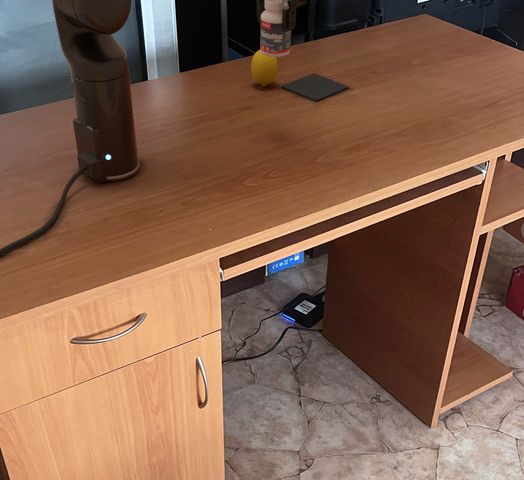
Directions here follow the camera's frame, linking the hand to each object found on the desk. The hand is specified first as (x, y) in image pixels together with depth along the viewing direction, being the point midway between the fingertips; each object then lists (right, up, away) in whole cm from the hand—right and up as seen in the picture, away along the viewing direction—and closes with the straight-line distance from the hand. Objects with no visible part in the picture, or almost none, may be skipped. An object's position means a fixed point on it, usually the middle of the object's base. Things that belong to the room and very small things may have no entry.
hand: (275, 25), depth 135 cm
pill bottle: (0, -4, +3) cm, 5 cm away
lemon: (-2, 0, +30) cm, 30 cm away
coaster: (+9, -1, +30) cm, 31 cm away
